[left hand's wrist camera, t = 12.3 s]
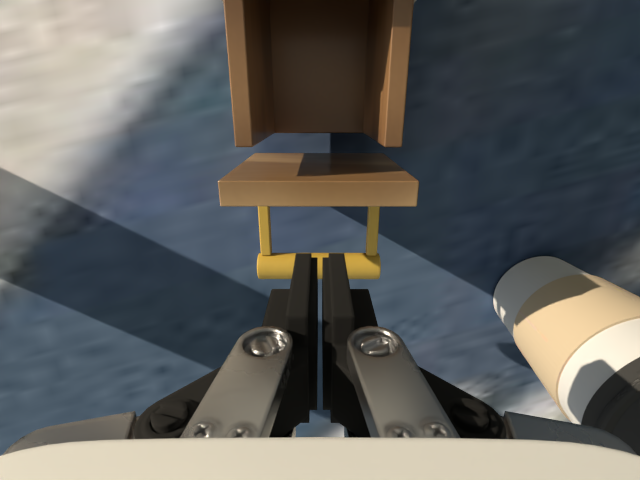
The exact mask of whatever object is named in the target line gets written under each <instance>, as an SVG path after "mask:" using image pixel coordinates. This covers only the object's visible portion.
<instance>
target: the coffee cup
mask: <svg viewBox="0 0 640 480" xmlns="http://www.w3.org/2000/svg"><path fill="white" fill-rule="evenodd" d="M493 303H494V308H495V310H496V312H497V314H498V316H499V317H500V319H501V320H502V321H503V323H504V324H505V326H506V327H507V329H508V330H509V332H510V333H511V334H512V336H513V337H514V339H515V342H516V345H517V347H518V348H519V350H520V351H521V353H522V354H523V355H524V357H525V358H526V360H527V361H528V363H529V364H530V366H531V367H532V369H533V370H534V372H535V373H536V375H537V376H538V378H539V379H540V381H541V382H542V383H543V385H544V386H545V388H546V389H547V391H548V392H549V394H550V395H551V397H552V398H553V400H554V401H555V403H556V404H557V406H558V407H559V409H560V410H561V411H562V413H563V414H564V415H565V416H566V417H567V418H568V419H569V420H570V421H571V422H572V423H574V424H580V425H586V426H591V427H595V428H598V429H601V430H605V431H607V432H609V433H610V434H612V435H614V436H616V437H618V438H619V439H621V440H622V441H623V442H625V443H626V444H627V445H629V446H630V447H631V448H632V449H633V450H634V452H635V453H636V454H637V455H638V456H640V297H639V296H637V295H635V294H633V293H631V292H629V291H627V290H625V289H623V288H621V287H619V286H617V285H615V284H613V283H611V282H609V281H607V280H605V279H603V278H600V277H597V276H593V275H590V274H588V273H586V272H584V271H582V270H580V269H578V268H576V267H575V266H573V265H571V264H569V263H567V262H565V261H563V260H561V259H558V258H555V257H550V256H539V257H533V258H530V259H527V260H524V261H522V262H520V263H518V264H516V265H515V266H513V267H512V268H511V269H509V270H508V271H507V272H506V273H505V274H504V275H503V277H502V278H501V279H500V281H499V282H498V284H497V286H496V289H495V292H494V297H493Z"/></svg>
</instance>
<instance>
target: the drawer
mask: <svg viewBox="0 0 640 480" xmlns="http://www.w3.org/2000/svg"><path fill="white" fill-rule="evenodd" d="M223 2H224V14H225V26H226V38H227V51H228V63H229V75H230V87H231V100H232V112H233V124H234V136H235V146H236V147H253V146H254V145H256V144H258V143H259V142H261V141H262V140H264V139H265V138H267V137H269V136H270V135H272V134H273V133H364V134H366V135H367V136H369V137H370V138H372V139H374V140H375V141H377V142H378V143H380V144H381V145H383V146H384V147H402V140H403V128H404V115H405V103H406V91H407V79H408V66H409V54H410V42H411V30H412V17H413V5H414V0H223ZM218 187H219V197H220V205H221V206H258V215H259V231H260V247H261V253H259V255H258V259H257V274H258V278H259V279H292V274H293V268H294V261H295V255H296V253H272V241H271V222H270V206H368V217H367V237H366V253H344V255H345V261H346V268H347V274H348V279H379V277H380V270H381V263H380V256H379V254H378V253H377V242H378V226H379V210H380V207H416V206H417V199H418V189H419V181H418V180H417V179H415V178H414V177H413V176H412V175H410V174H409V173H408V172H406V171H405V170H404V169H403V168H401V167H400V166H399V165H397V164H396V163H395V162H394V161H392V160H391V159H390V158H388V157H387V156H386V155H385V154H383V153H255V154H253V155H252V156H251V157H249V158H248V159H247V160H245V161H244V162H243V163H241V164H240V165H239V166H238V167H236V168H235V169H234V170H232V171H231V172H230V173H228V174H227V175H226V176H224V177H223V178H222V179H220V180H219V181H218ZM311 255H312V257H317V258H318V279H322V258H323V257H328V255H329V253H311Z"/></svg>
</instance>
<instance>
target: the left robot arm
mask: <svg viewBox="0 0 640 480" xmlns="http://www.w3.org/2000/svg"><path fill="white" fill-rule="evenodd" d="M317 352H318V258H317V257H312V255H311V253H296V255H295V261H294V268H293V274H292V280H291V286H290V289H272V290H271V294H270V298H269V301H268V305H267V309H266V313H265V317H264V321H263V324H262V327H257V328H254V329H251V330H249V331H247V332H246V333H244V334H243V335H241V337H240V338H239V339H238V340H237V342H236V344H235V345H234V347H233V349H232V350H231V352H230V354H229V355H228V357H227V359H226V360H225V362H224V364H223V365H222V366H221V367H220V368H218V369H216V370H214V371H212V372H210V373H209V374H207V375H205V376H203V377H201V378H199V379H198V380H196V381H194V382H192V383H190V384H189V385H187V386H185V387H183V388H181V389H179V390H178V391H176V392H174V393H172V394H170V395H168V396H167V397H165V398H163V399H161V400H159V401H157V402H156V403H154V404H153V405H151V406H150V407H149V408H147V409H146V410H145V411H144V412H143V413H142V414H141V415H140V416H137V417H136V413H135V411H133V412H127V413H122V414H116V415H110V416H105V417H99V418H94V419H88V420H82V421H77V422H71V423H66V424H60V425H54V426H49V427H45V428H42V429H39V430H35V431H33V432H31V433H30V434H28V435H26V436H24V437H22V438H21V439H19V440H18V441H17V442H15V443H14V444H13V445H11V446H10V447H9V448H8V449H7V450H6V452H5V453H4V454H3V455H2V456H0V480H640V456H638V455H637V454H636V453H635V452H634V450H633V449H632V448H631V447H630V446H629V445H627V444H626V443H625V442H623V441H622V440H621V439H619V438H618V437H616V436H614V435H612V434H610V433H609V432H607V431H605V430H601V429H598V428H595V427H591V426H586V425H580V424H574V423H569V422H563V421H558V420H552V419H546V418H541V417H535V416H530V415H524V414H518V413H513V412H507V411H505V413H504V417H503V416H500V415H499V414H498V413H497V412H496V411H495V410H494V409H493V408H491V407H490V406H489V405H487V404H486V403H484V402H483V401H481V400H479V399H477V398H475V397H473V396H472V395H470V394H468V393H466V392H464V391H462V390H461V389H459V388H457V387H455V386H453V385H451V384H450V383H448V382H446V381H444V380H442V379H441V378H439V377H437V376H435V375H433V374H431V373H430V372H428V371H426V370H424V369H422V368H420V367H419V366H418V365H417V364H416V362H415V360H414V359H413V357H412V355H411V354H410V352H409V350H408V349H407V347H406V345H405V344H404V342H403V340H402V339H401V338H400V337H399V335H397V334H396V333H394V332H393V331H391V330H389V329H386V328H383V327H378V324H377V321H376V317H375V313H374V309H373V305H372V301H371V298H370V294H369V291H368V289H350V286H349V280H348V274H347V268H346V261H345V255H344V253H329V255H328V257H323V258H322V352H323V410H330V411H331V423H340V424H342V425H343V426H344V436H345V438H342V437H298V438H295V436H296V426H297V425H298V424H300V423H309V411H310V410H317Z"/></svg>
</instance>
